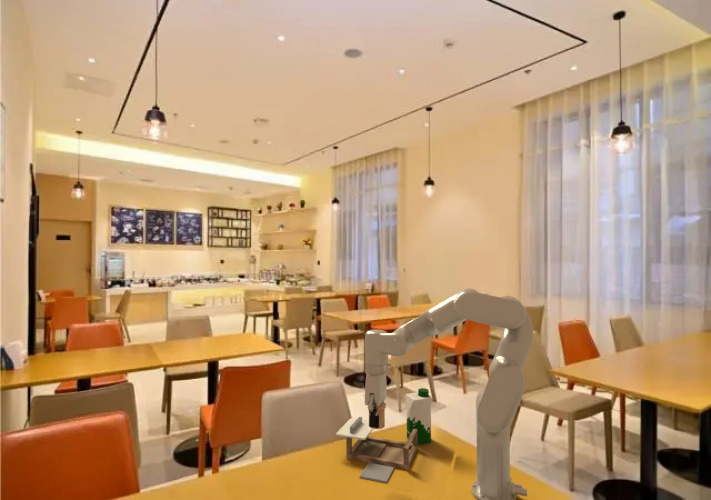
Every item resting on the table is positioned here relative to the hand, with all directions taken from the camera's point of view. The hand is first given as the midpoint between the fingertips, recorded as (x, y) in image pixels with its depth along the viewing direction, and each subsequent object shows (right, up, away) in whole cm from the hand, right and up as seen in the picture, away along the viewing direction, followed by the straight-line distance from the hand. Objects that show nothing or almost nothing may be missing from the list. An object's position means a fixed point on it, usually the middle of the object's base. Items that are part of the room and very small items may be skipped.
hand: (376, 423), depth 132 cm
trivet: (0, -17, 0) cm, 17 cm away
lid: (-6, -9, +17) cm, 20 cm away
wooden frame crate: (+3, -17, +13) cm, 22 cm away
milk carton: (+17, -18, +23) cm, 34 cm away
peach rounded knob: (0, -1, 0) cm, 1 cm away
